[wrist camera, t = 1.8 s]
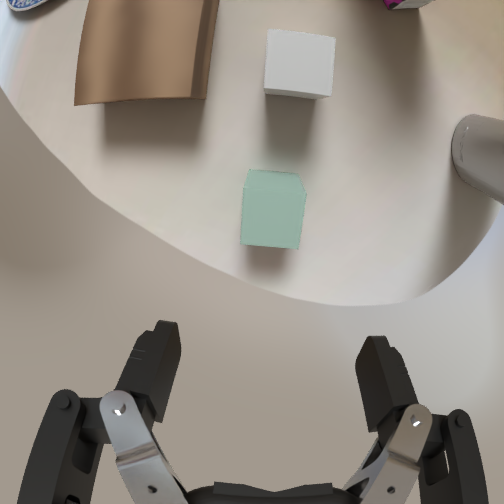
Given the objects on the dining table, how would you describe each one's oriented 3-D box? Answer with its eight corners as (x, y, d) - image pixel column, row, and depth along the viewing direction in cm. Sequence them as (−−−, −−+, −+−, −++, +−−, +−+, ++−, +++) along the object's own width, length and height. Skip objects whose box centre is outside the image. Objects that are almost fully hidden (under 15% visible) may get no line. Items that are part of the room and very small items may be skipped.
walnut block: (220, -2, 18) (208, -24, 13) (206, 99, 24) (190, 97, 19) (117, 11, 18) (89, -2, 13) (105, 102, 24) (74, 105, 19)
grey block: (319, 54, 21) (335, 37, 15) (316, 99, 23) (331, 96, 17) (268, 48, 21) (268, 28, 15) (264, 93, 23) (263, 88, 17)
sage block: (298, 173, 27) (306, 193, 21) (292, 218, 30) (298, 249, 24) (249, 169, 27) (243, 188, 21) (246, 214, 30) (240, 244, 24)
